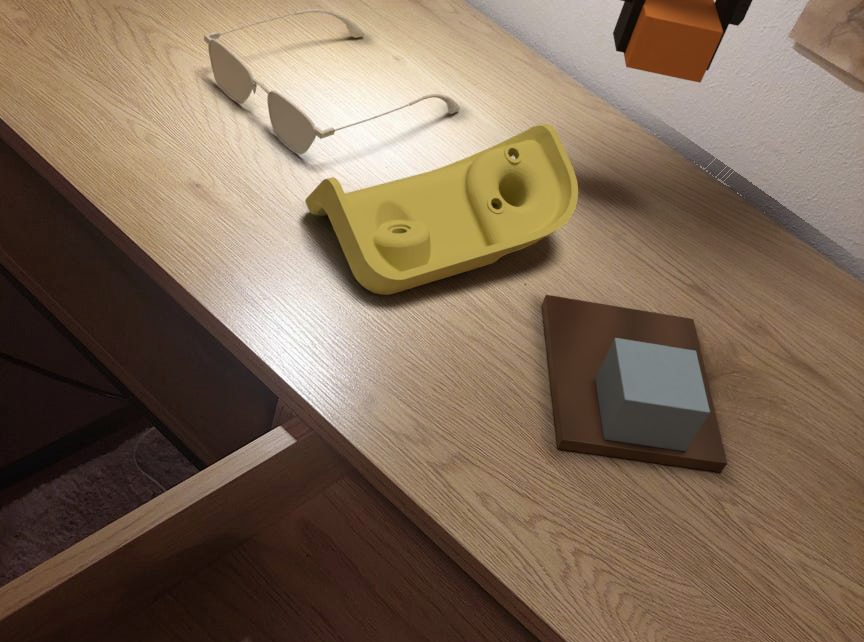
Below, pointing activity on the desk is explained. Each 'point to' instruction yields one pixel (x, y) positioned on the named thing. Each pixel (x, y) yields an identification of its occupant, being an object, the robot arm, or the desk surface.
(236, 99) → the eyeglasses
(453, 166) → the plastic component
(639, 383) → the grey-blue cube
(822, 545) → the desk surface
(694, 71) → the orange cube
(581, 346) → the board
